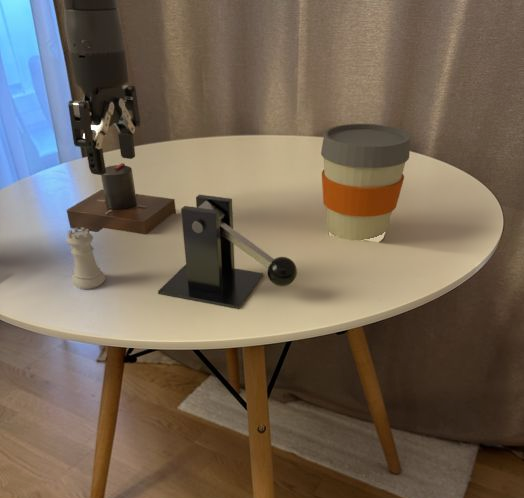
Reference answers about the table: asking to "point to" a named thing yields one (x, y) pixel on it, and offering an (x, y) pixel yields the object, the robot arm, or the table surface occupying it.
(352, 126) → the reusable coffee cup
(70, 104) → the robot arm
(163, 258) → the table surface
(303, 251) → the table surface
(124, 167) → the knob
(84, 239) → the rook chess piece
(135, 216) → the wooden knob base
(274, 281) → the ball knob lever
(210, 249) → the black lever stand
